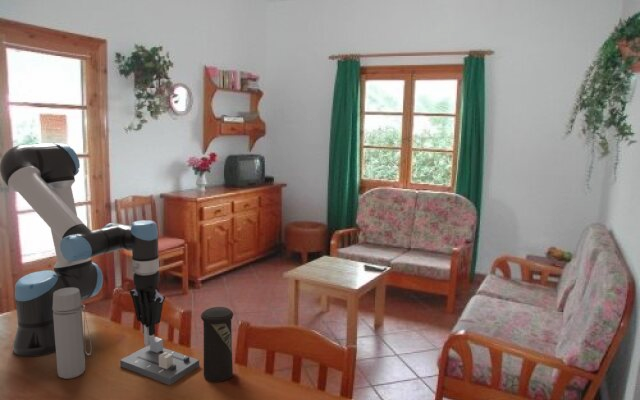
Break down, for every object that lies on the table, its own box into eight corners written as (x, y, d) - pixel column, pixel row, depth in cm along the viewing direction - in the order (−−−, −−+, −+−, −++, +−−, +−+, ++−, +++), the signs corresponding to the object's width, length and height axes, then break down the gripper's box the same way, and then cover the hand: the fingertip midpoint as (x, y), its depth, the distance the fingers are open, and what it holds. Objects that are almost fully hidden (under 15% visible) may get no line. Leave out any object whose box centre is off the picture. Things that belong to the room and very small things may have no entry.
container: (226, 385, 134) (226, 318, 131) (197, 380, 136) (195, 314, 133) (238, 369, 143) (237, 306, 139) (209, 365, 144) (209, 303, 141)
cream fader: (159, 366, 139) (158, 355, 138) (165, 362, 141) (164, 351, 140) (166, 369, 137) (166, 357, 137) (172, 365, 139) (172, 354, 139)
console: (120, 366, 143) (119, 356, 142) (151, 349, 153) (151, 340, 152) (169, 385, 133) (169, 374, 133) (199, 366, 144) (199, 356, 143)
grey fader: (150, 350, 148) (149, 339, 147) (156, 347, 150) (155, 336, 149) (157, 352, 146) (156, 341, 146) (163, 349, 148) (162, 338, 148)
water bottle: (57, 383, 133) (50, 298, 128) (57, 369, 140) (51, 288, 135) (93, 375, 137) (88, 293, 133) (92, 363, 144) (87, 284, 139)
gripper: (121, 271, 145) (125, 343, 149) (152, 278, 139) (155, 354, 143) (140, 264, 151) (144, 334, 156) (171, 271, 145) (173, 343, 150)
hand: (149, 343), depth 149 cm, fingers closed
